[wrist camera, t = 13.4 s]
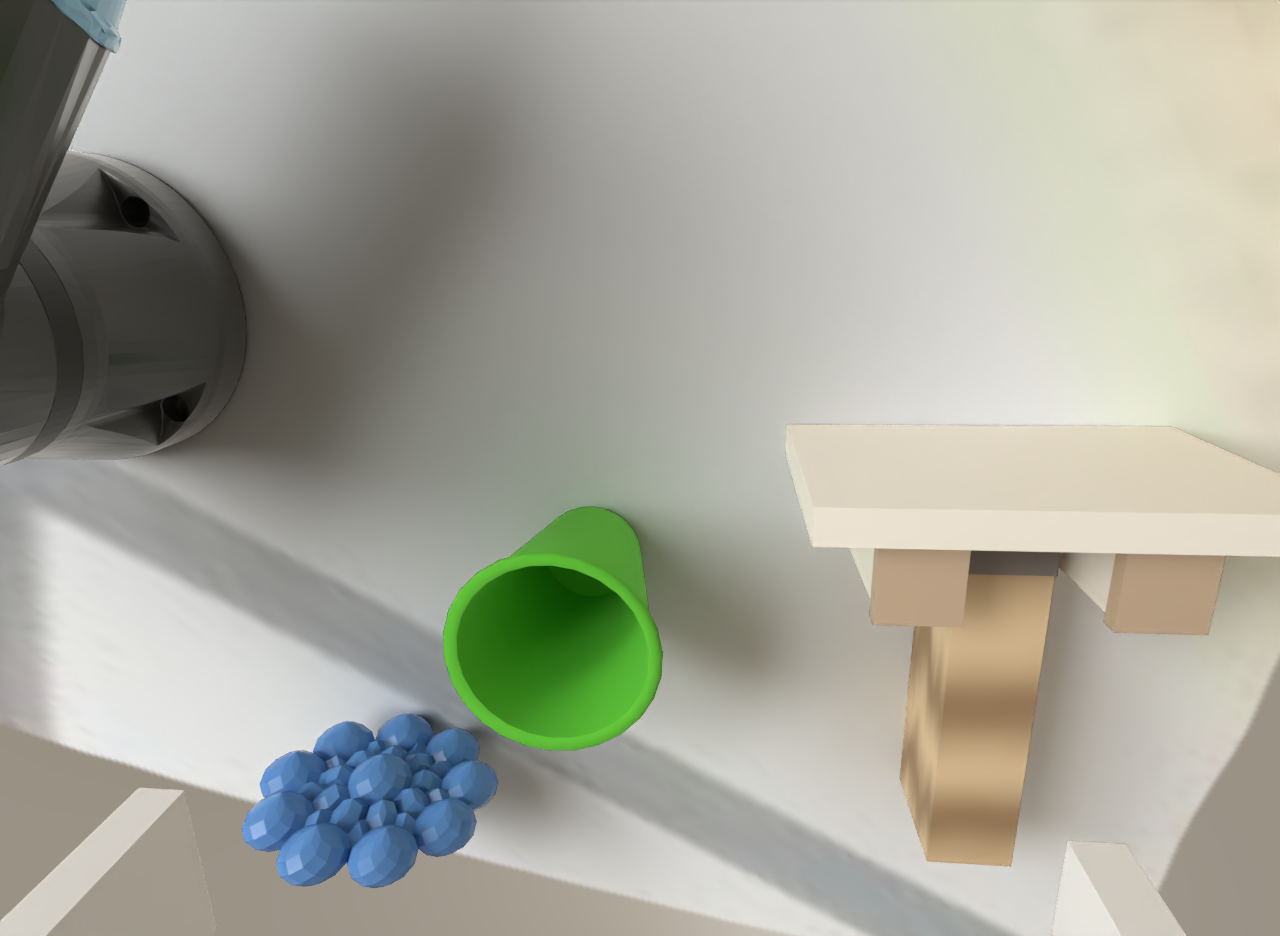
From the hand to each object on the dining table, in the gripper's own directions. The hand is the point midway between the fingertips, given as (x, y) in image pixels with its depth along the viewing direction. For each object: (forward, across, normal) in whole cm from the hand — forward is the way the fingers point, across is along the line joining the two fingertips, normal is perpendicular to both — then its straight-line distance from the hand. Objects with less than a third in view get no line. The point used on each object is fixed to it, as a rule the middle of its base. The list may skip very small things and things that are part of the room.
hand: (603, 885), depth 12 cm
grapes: (+29, -16, -19) cm, 38 cm away
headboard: (+29, +14, -3) cm, 32 cm away
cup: (+29, -5, -7) cm, 30 cm away
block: (+29, +14, -12) cm, 34 cm away
